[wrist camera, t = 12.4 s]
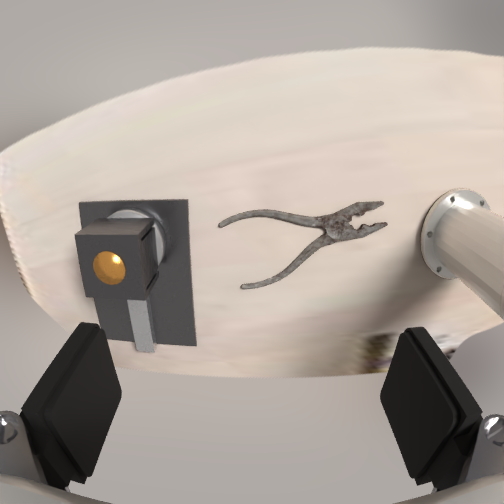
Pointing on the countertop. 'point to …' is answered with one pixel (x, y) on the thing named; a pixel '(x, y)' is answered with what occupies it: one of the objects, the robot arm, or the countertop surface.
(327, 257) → the countertop surface
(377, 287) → the countertop surface
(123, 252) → the socket
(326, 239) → the pliers
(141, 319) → the lever switch plate
